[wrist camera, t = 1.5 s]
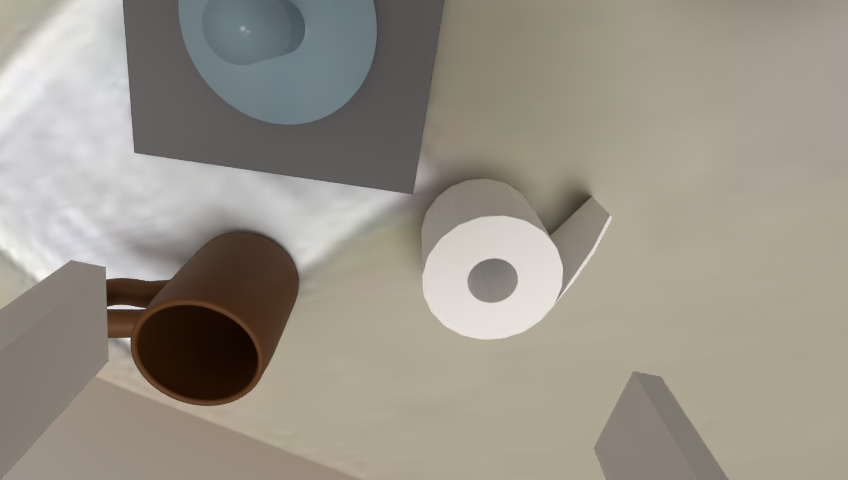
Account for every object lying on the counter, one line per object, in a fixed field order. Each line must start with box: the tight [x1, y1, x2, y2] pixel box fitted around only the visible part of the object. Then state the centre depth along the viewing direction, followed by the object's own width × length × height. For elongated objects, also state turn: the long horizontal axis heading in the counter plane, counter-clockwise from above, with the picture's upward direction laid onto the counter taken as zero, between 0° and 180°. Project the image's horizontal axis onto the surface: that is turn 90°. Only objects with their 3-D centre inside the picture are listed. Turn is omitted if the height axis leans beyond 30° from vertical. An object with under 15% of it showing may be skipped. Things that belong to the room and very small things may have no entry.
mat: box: [123, 0, 444, 194], centre depth 29 cm, size 18×18×1 cm
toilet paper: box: [421, 179, 612, 340], centre depth 31 cm, size 8×11×7 cm
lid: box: [178, 0, 378, 125], centre depth 25 cm, size 11×11×8 cm
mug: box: [106, 232, 298, 406], centre depth 32 cm, size 12×8×9 cm, turn 74°
